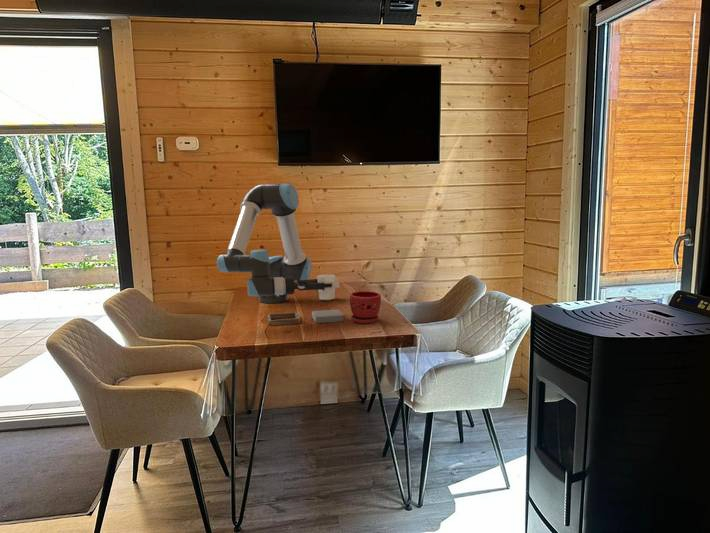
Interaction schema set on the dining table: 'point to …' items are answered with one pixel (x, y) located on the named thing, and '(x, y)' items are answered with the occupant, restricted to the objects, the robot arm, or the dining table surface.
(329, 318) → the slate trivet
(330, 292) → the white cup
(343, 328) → the dining table surface
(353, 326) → the dining table surface
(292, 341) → the dining table surface
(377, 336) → the dining table surface
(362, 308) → the plant pot
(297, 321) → the walnut frame
